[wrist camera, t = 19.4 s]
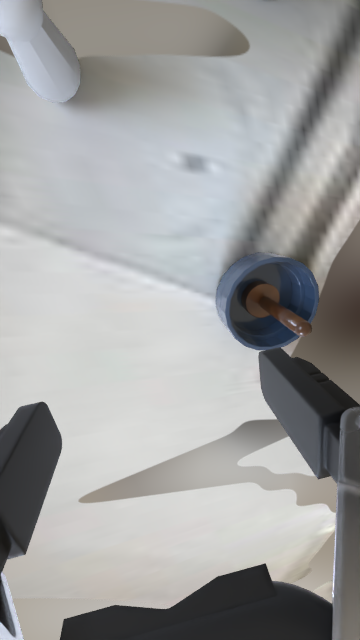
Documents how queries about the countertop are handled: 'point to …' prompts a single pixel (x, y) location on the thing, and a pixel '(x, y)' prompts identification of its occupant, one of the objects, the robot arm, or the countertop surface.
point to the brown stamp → (272, 307)
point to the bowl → (294, 295)
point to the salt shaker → (40, 50)
